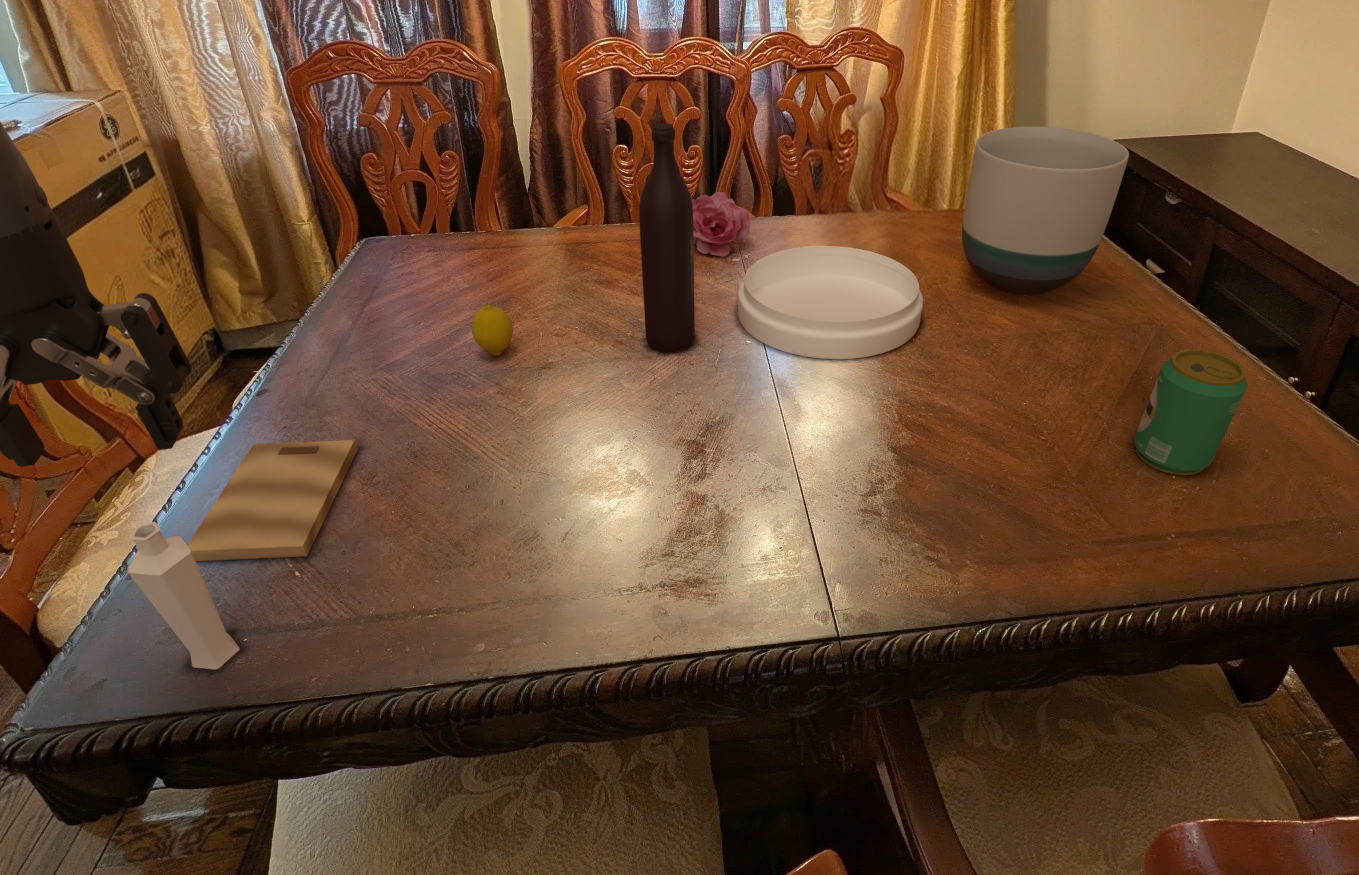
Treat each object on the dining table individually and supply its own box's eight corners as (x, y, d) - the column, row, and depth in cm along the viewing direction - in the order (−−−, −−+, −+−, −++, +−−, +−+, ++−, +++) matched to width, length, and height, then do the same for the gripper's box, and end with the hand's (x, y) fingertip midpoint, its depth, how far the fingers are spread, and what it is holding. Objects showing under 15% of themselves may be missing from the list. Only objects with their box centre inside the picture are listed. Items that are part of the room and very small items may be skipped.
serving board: (307, 556, 82) (302, 544, 81) (188, 561, 82) (182, 549, 81) (357, 449, 96) (354, 438, 95) (257, 453, 96) (252, 442, 95)
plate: (958, 331, 115) (966, 297, 112) (799, 378, 106) (801, 343, 103) (849, 262, 135) (852, 231, 132) (706, 297, 126) (706, 265, 123)
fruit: (512, 341, 116) (504, 291, 112) (520, 359, 112) (511, 308, 108) (474, 348, 115) (464, 298, 110) (480, 367, 111) (469, 315, 106)
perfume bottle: (253, 634, 74) (190, 513, 65) (226, 673, 70) (155, 551, 61) (208, 629, 74) (138, 509, 65) (178, 668, 71) (100, 546, 62)
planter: (923, 277, 130) (946, 142, 117) (1005, 247, 138) (1035, 118, 126) (1029, 327, 116) (1069, 180, 103) (1114, 290, 125) (1160, 150, 112)
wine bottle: (701, 349, 113) (699, 130, 95) (653, 357, 112) (641, 137, 94) (687, 326, 119) (682, 115, 101) (640, 333, 117) (628, 121, 99)
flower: (732, 275, 140) (705, 239, 132) (694, 263, 146) (666, 227, 139) (768, 224, 141) (743, 185, 133) (729, 214, 147) (703, 176, 140)
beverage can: (1138, 427, 96) (1172, 339, 89) (1214, 449, 92) (1256, 359, 85) (1124, 461, 91) (1159, 371, 84) (1203, 486, 87) (1247, 394, 80)
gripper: (-226, 259, 40) (-43, 501, 50) (79, 232, 42) (198, 471, 52) (-133, 206, 46) (14, 432, 56) (131, 184, 48) (229, 406, 58)
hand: (102, 450), depth 54 cm, fingers open, 8 cm apart
